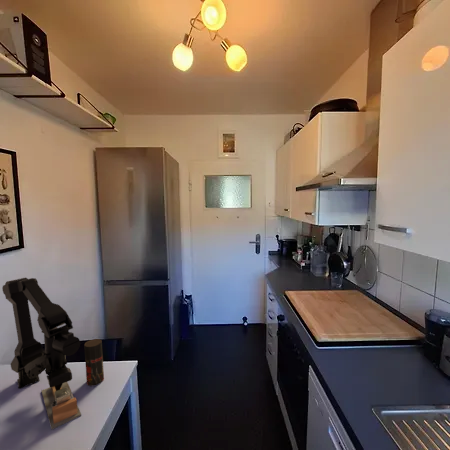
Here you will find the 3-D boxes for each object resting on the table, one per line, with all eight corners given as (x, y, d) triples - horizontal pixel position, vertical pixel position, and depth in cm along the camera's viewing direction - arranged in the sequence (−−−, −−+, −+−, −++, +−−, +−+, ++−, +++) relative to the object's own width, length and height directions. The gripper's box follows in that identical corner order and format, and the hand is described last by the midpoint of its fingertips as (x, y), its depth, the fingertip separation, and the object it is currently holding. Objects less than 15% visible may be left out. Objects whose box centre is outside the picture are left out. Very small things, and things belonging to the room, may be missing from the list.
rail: (41, 392, 97) (40, 378, 97) (66, 382, 103) (66, 369, 102) (51, 429, 81) (50, 413, 80) (81, 415, 86) (80, 400, 85)
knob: (51, 411, 87) (50, 393, 86) (72, 402, 90) (71, 384, 90) (53, 418, 83) (52, 400, 83) (75, 409, 87) (74, 391, 87)
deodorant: (105, 381, 102) (103, 343, 101) (87, 388, 99) (85, 348, 98) (102, 373, 107) (100, 337, 106) (85, 379, 104) (83, 342, 103)
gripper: (23, 344, 93) (26, 386, 95) (28, 369, 79) (31, 418, 81) (60, 333, 101) (63, 373, 102) (71, 355, 86) (73, 401, 88)
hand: (57, 390), depth 93 cm, fingers closed
